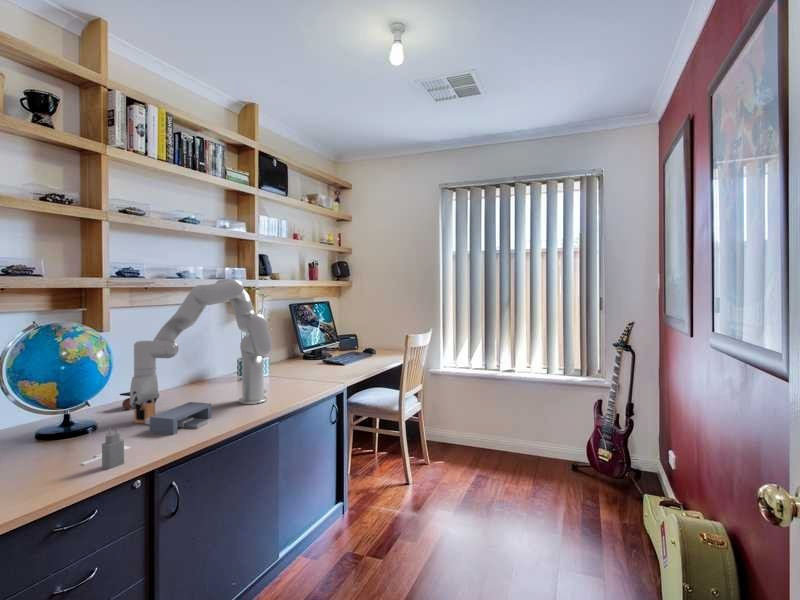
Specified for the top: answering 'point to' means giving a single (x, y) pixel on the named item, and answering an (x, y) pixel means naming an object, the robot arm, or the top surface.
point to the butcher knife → (100, 457)
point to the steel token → (195, 423)
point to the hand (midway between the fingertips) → (145, 417)
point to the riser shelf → (178, 417)
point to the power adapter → (112, 450)
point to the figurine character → (127, 401)
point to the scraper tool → (150, 411)
